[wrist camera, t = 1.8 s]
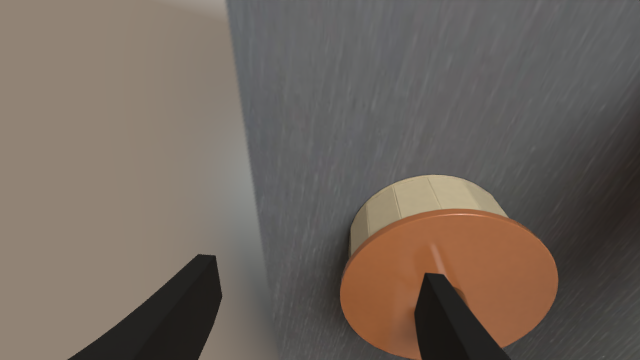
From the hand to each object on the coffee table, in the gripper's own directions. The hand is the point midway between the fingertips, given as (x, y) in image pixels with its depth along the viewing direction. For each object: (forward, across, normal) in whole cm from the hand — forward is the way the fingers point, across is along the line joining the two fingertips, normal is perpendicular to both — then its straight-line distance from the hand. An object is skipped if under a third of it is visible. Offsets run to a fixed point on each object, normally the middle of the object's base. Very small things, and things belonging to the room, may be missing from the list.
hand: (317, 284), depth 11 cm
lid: (+5, -7, +5) cm, 10 cm away
